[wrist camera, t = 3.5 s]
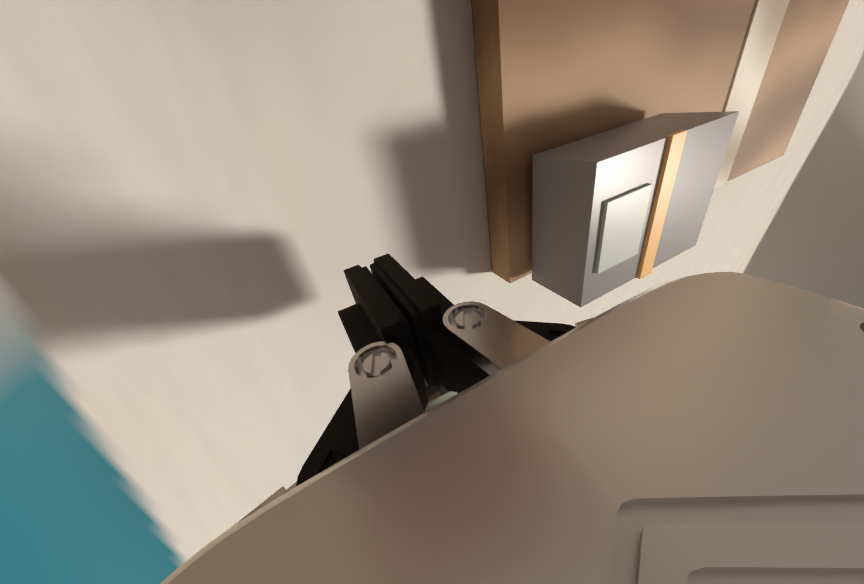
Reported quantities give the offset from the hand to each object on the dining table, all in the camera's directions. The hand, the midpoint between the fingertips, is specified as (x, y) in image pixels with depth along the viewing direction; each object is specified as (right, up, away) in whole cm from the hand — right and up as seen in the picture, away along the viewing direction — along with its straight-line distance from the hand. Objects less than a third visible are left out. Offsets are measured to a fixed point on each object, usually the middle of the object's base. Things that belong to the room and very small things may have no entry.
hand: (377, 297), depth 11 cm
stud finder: (+10, +5, +4) cm, 12 cm away
